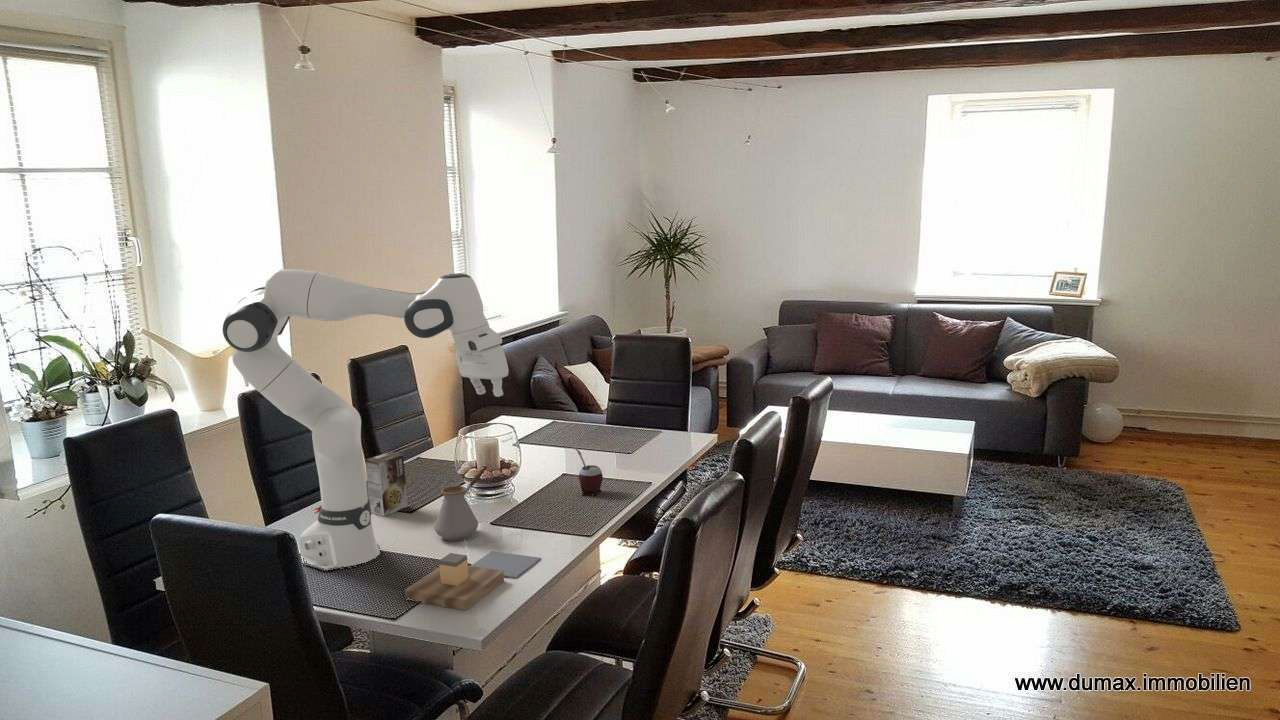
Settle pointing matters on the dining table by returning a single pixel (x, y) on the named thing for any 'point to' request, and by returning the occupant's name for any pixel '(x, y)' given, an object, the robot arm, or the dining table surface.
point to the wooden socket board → (455, 588)
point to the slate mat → (507, 563)
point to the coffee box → (386, 483)
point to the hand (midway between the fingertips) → (490, 394)
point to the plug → (453, 569)
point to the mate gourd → (589, 477)
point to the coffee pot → (456, 513)
